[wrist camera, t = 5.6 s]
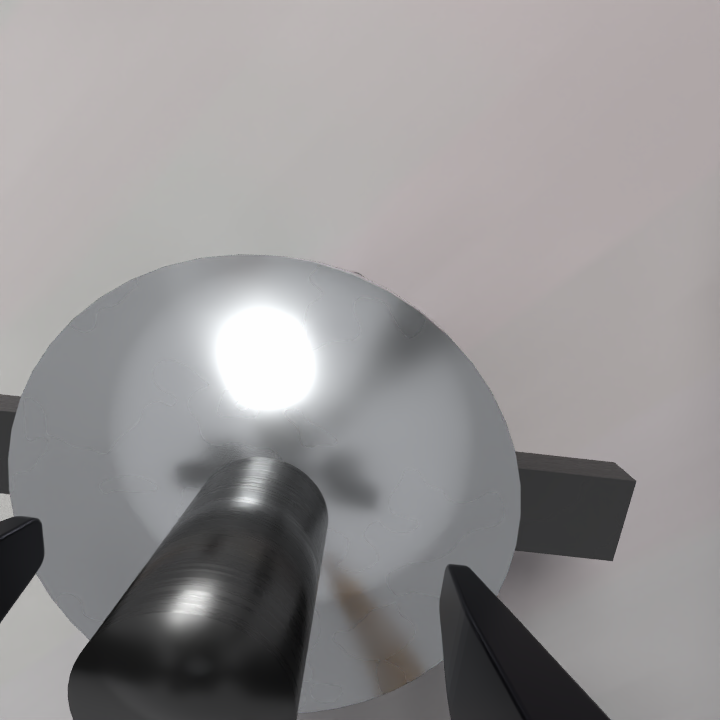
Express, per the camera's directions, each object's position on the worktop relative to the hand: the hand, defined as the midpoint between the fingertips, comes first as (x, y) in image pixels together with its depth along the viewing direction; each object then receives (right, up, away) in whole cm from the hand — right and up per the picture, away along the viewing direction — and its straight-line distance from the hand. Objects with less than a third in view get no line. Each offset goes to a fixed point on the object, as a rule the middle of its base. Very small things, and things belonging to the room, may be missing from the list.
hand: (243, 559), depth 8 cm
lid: (0, +1, +2) cm, 2 cm away
